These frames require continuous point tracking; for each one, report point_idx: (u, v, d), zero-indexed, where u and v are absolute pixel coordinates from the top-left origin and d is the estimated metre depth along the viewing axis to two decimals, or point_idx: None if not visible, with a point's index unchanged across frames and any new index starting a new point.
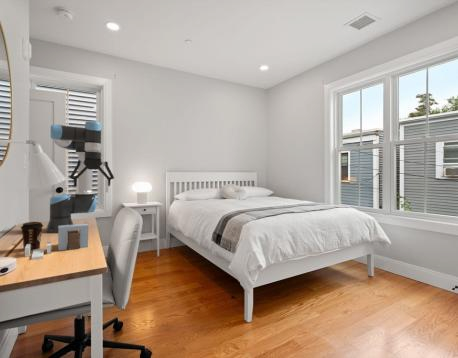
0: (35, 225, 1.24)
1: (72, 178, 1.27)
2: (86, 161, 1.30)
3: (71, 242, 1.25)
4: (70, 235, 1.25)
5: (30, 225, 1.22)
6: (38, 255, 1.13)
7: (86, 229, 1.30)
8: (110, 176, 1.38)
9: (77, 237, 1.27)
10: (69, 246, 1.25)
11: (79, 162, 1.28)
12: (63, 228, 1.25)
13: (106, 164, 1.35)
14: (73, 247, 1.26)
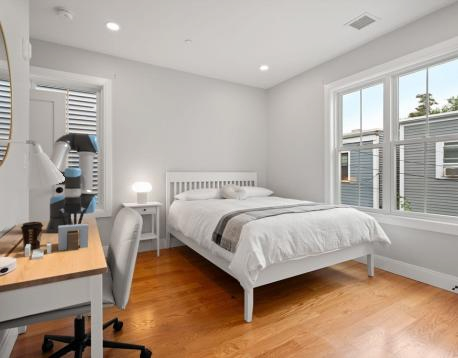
0: (35, 225, 1.23)
1: None
2: (65, 206, 1.35)
3: (70, 242, 1.24)
4: (69, 235, 1.24)
5: (30, 225, 1.22)
6: (38, 255, 1.13)
7: (86, 229, 1.30)
8: (78, 222, 1.40)
9: (76, 237, 1.26)
10: (68, 246, 1.24)
11: (60, 211, 1.33)
12: (63, 228, 1.25)
13: (83, 211, 1.39)
14: (73, 247, 1.25)
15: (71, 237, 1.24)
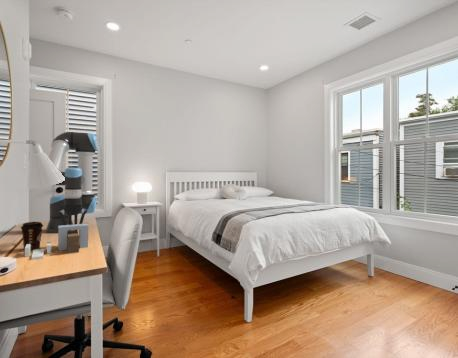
0: (35, 225, 1.23)
1: None
2: (65, 208, 1.31)
3: (70, 245, 1.20)
4: (70, 238, 1.20)
5: (30, 225, 1.22)
6: (38, 255, 1.13)
7: (86, 229, 1.30)
8: None
9: (77, 240, 1.22)
10: (69, 249, 1.20)
11: (61, 213, 1.30)
12: (63, 228, 1.25)
13: (84, 213, 1.35)
14: (73, 250, 1.21)
15: (71, 239, 1.20)
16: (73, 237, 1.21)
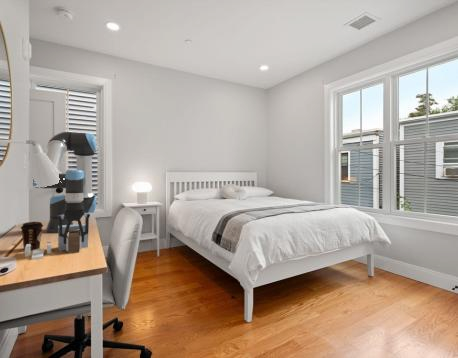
0: (35, 225, 1.24)
1: (62, 235, 1.20)
2: (66, 213, 1.20)
3: (70, 244, 1.20)
4: (70, 237, 1.20)
5: (30, 225, 1.22)
6: (38, 255, 1.13)
7: None
8: (85, 230, 1.27)
9: (77, 239, 1.21)
10: (69, 249, 1.20)
11: (60, 217, 1.19)
12: (63, 228, 1.25)
13: (87, 217, 1.25)
14: (73, 250, 1.21)
15: (71, 239, 1.20)
16: (73, 237, 1.21)
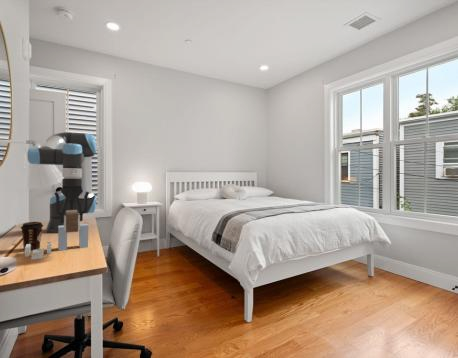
0: (35, 225, 1.23)
1: (59, 213, 1.13)
2: (63, 189, 1.13)
3: (68, 223, 1.13)
4: (68, 215, 1.13)
5: (30, 225, 1.22)
6: (38, 255, 1.13)
7: (86, 229, 1.30)
8: (84, 209, 1.19)
9: (76, 218, 1.14)
10: (67, 228, 1.12)
11: (57, 194, 1.11)
12: (63, 228, 1.25)
13: (86, 194, 1.18)
14: (71, 229, 1.13)
15: (70, 217, 1.13)
16: (72, 215, 1.13)
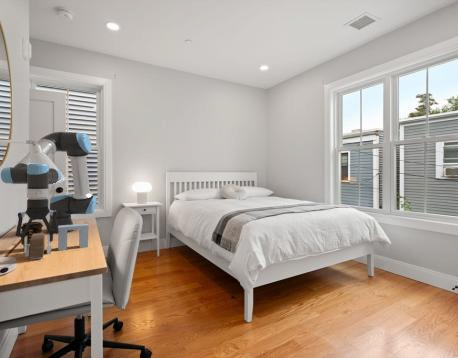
0: (35, 225, 1.23)
1: (19, 235, 1.08)
2: (28, 211, 1.09)
3: (33, 249, 1.09)
4: (32, 241, 1.09)
5: (30, 225, 1.22)
6: None
7: (86, 229, 1.30)
8: (54, 228, 1.16)
9: (40, 243, 1.10)
10: (31, 254, 1.09)
11: (20, 215, 1.08)
12: (63, 228, 1.25)
13: (54, 214, 1.14)
14: (36, 255, 1.10)
15: (34, 243, 1.09)
16: (36, 240, 1.10)
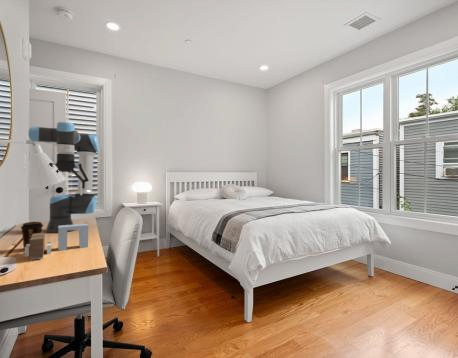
0: (35, 225, 1.23)
1: None
2: (58, 163, 1.26)
3: (33, 249, 1.09)
4: (32, 241, 1.09)
5: (30, 225, 1.22)
6: None
7: (86, 229, 1.30)
8: (85, 178, 1.34)
9: (40, 243, 1.10)
10: (31, 254, 1.09)
11: (50, 164, 1.24)
12: (63, 228, 1.25)
13: (80, 166, 1.31)
14: (36, 255, 1.10)
15: (34, 243, 1.09)
16: (36, 240, 1.10)
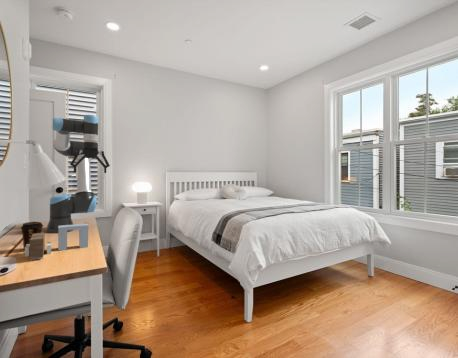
0: (35, 225, 1.23)
1: (72, 165, 1.43)
2: (84, 150, 1.46)
3: (33, 249, 1.09)
4: (32, 241, 1.09)
5: (30, 225, 1.22)
6: None
7: (86, 229, 1.30)
8: (106, 164, 1.54)
9: (40, 243, 1.10)
10: (31, 254, 1.09)
11: (78, 151, 1.44)
12: (63, 228, 1.25)
13: (102, 153, 1.51)
14: (36, 255, 1.10)
15: (34, 243, 1.09)
16: (36, 240, 1.10)
